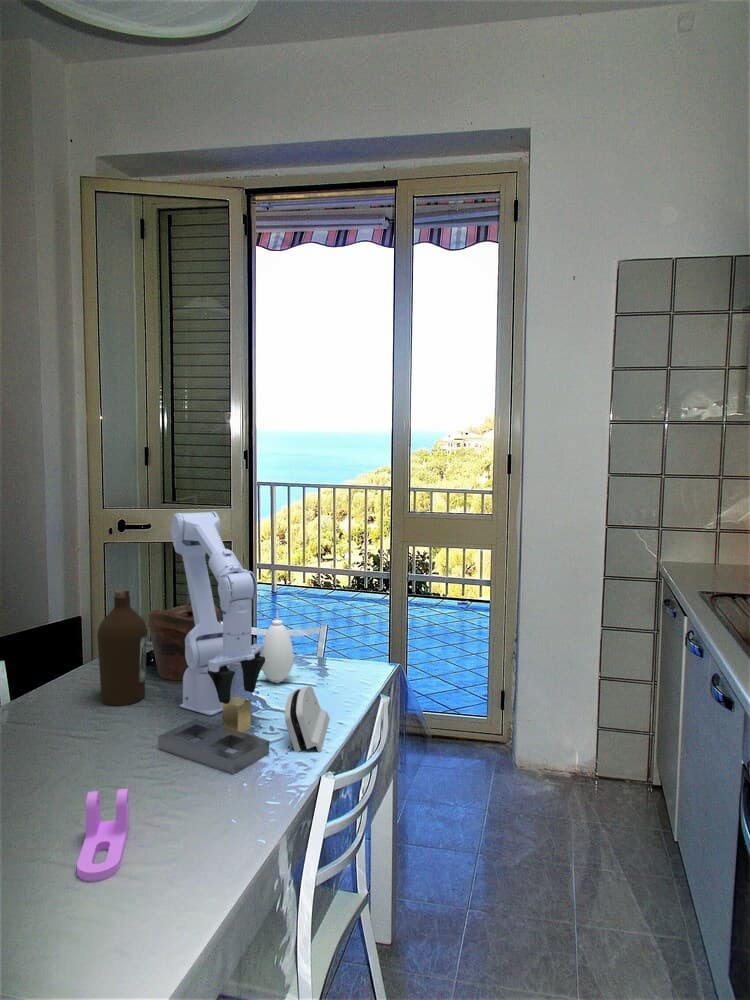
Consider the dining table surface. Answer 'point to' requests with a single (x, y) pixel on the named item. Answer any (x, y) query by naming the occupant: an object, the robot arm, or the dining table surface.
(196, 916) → the dining table surface
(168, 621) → the terracotta flower pot
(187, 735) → the grey peg hole base
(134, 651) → the olive oil
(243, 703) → the tan rectangular block
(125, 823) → the bracket
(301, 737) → the grey piece
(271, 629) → the sauce bottle
